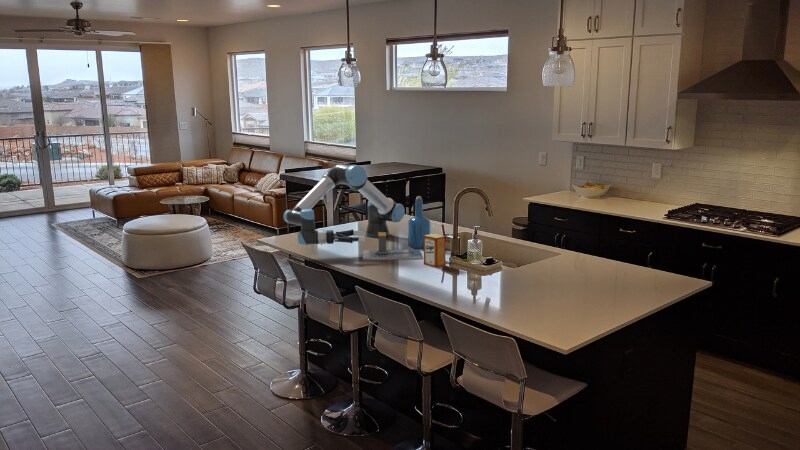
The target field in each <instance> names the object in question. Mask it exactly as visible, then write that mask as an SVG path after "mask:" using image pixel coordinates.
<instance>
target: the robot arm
mask: <svg viewBox="0 0 800 450" xmlns="http://www.w3.org/2000/svg"><path fill="white" fill-rule="evenodd" d="M338 185H347V186H348V187H349V188H350V189H352V190H353V191H356V192H357V191H358V192H359V193H360V194H361V195H362V196H363V197H364V198H366V199H367V200H368V201H367V226H366V229H365V230H354V229H350V230H343V231H335V232H334V230H333V229H329V230H328V229H327V230H326V229H324V230H321V229H320V230H316V221H315V217H316V216H315V212H314V211H315V210H314V209H312V208H314V206H316V204H318V202H319V201H320V200H322V198H323V197H324V196H325V195H326V194H327V193H328V192H329V191H330V190H331V189H335V187H336V186H338ZM405 213H406V212H405V207H404V205H403V204H402V203H397V202H396V201H394V200H393V199H392V198H391V197H386V195H385V194H383V193H382V191H380V189H378V188H377V187H376V186H375V185H374V184H372V182H371V181H369V180H368V175H367V171H366V170H365V168H364V167H362V166H361V165H357V164H347V163H345V164H344V163H340V164H339V163H338V164H336V165H334V166H332V167H331V168H329V169H328V170H327V171H326V172H324V174H323V175H322V176H321V179H320V181H318V182H317V184H315V185H314V186H313V187H312V189H311V190H310V191H309V192H307V194H306V195H304V197H302V199H301V200H300V201H299V202H298V203H297V204H296V205H295V206H294V207H293V208H292V209H287V210H285V211H284V213H283V220H284V222H286V223H288V224H290V225H297V226H300V228H301V229H300V231H298V232H297V241H298V242H297V243H298V244H299V245H300V246H301V245H303V246H304V245H306V246H308V245H321V246H322V245H326V244H327V245H330V244H331V245H333V244H334V243H338V242H339V243H350V244H353V243H354V242H365V241H366V239H365V238H366V237H370V238H379V236H378V232H386V237H387V236H390V230H389V227H388V224H387V222H392V223H399V222H401V221H402V220H403V218H404V216H405ZM365 236H366V237H365Z"/></svg>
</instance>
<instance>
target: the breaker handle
mask: <svg viewBox="0 0 800 450" xmlns="http://www.w3.org/2000/svg"><path fill="white" fill-rule="evenodd" d="M378 236H379V237H378V249H377V254H388V250H389V249H387V236H386V232H378Z"/></svg>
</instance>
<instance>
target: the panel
mask: <svg viewBox="0 0 800 450" xmlns="http://www.w3.org/2000/svg"><path fill="white" fill-rule="evenodd" d="M377 250H378V249H377ZM377 250H376V249H375V250H374V249H372V250H368V249H367V250H363V252H362V261H383V260H384V261H385V260H386V261H387V260H388V261H389V260H421V259H422V253H421V249H417V248H412V249H387V250H388V254H377Z"/></svg>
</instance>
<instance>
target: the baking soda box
mask: <svg viewBox="0 0 800 450" xmlns="http://www.w3.org/2000/svg"><path fill="white" fill-rule="evenodd" d="M423 265H424V266H429V267H433V268H441V267H445V266H446V236H445V235H442V234H441V235H440V234H436V233H431V234H428V235H424V248H423Z"/></svg>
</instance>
